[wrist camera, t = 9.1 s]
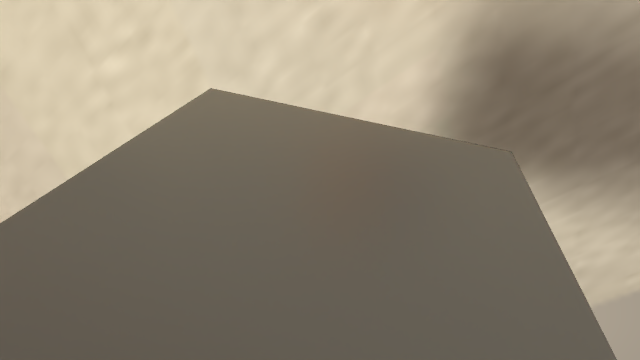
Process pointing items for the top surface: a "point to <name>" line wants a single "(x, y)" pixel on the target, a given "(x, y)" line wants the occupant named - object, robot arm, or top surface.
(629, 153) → the top surface
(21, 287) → the grey upright block
